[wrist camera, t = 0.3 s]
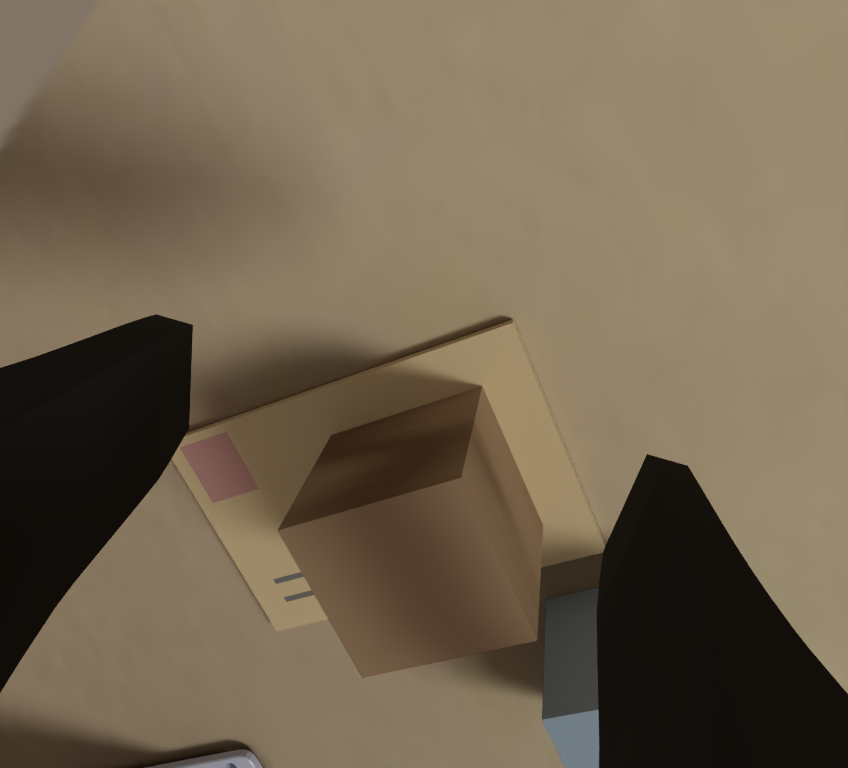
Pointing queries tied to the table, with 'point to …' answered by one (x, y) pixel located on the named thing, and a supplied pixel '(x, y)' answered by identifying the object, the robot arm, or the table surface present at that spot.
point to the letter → (357, 405)
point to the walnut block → (420, 537)
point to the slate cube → (572, 678)
